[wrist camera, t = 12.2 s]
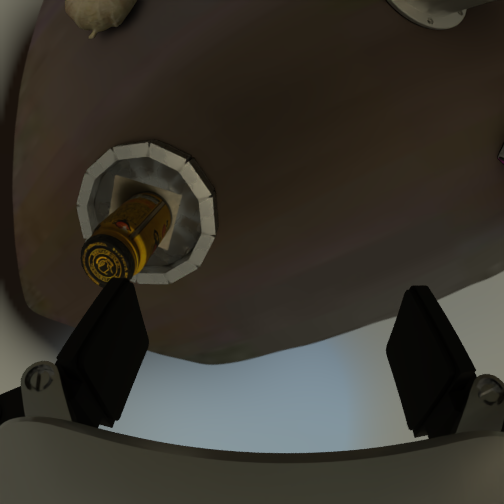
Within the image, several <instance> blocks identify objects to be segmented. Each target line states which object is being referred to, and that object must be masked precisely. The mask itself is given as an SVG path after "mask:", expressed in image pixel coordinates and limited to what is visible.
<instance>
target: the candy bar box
mask: <svg viewBox="0 0 504 504" xmlns="http://www.w3.org/2000/svg"><path fill="white" fill-rule="evenodd" d="M498 159H499V160H500V161H501V162H502V163H503V164H504V144H503V147H502V149H501V151H500V153H499V156H498Z"/></svg>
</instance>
